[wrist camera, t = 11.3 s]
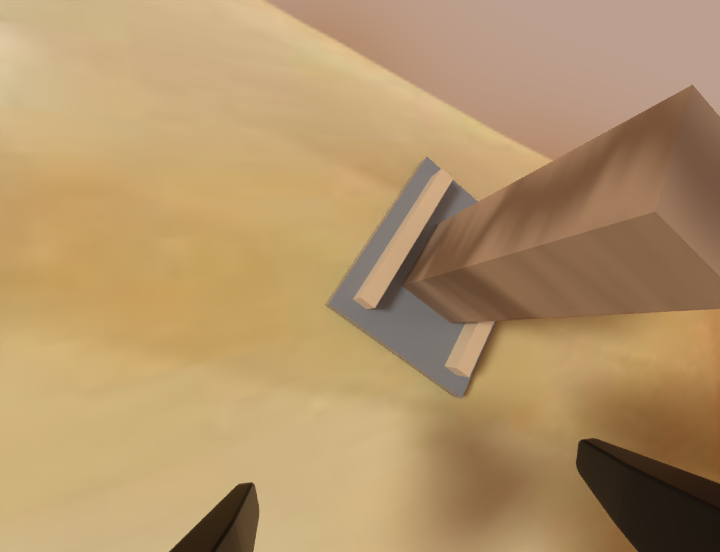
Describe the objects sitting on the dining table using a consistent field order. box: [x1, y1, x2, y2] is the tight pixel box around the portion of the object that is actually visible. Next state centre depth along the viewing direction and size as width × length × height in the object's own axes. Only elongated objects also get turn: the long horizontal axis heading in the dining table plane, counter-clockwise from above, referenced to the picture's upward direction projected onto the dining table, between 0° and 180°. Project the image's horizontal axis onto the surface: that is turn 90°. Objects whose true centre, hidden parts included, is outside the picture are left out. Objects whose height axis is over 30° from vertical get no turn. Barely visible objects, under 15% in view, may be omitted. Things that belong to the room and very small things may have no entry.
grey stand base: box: [326, 157, 496, 399], centre depth 21 cm, size 12×10×2 cm
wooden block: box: [402, 85, 720, 323], centre depth 15 cm, size 5×4×13 cm
